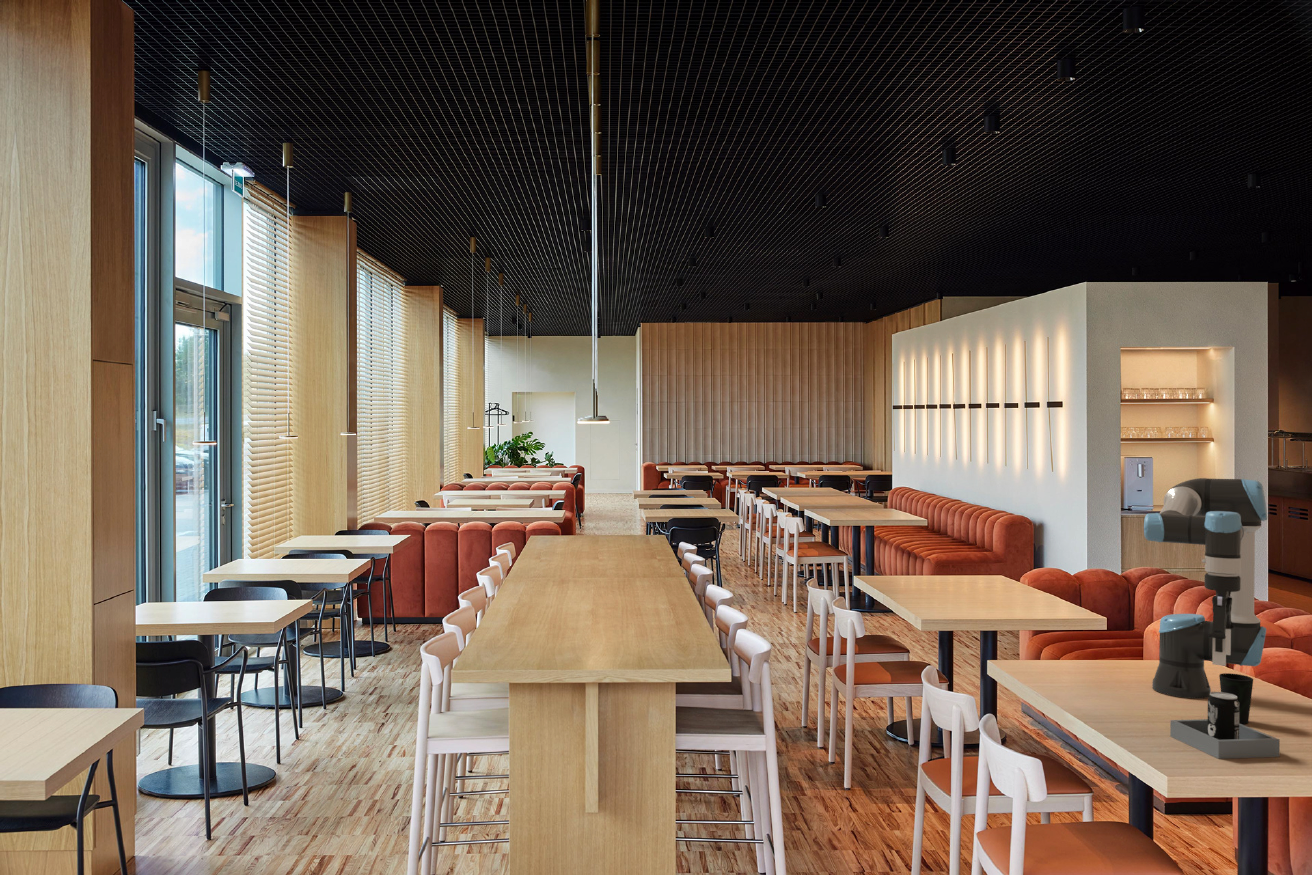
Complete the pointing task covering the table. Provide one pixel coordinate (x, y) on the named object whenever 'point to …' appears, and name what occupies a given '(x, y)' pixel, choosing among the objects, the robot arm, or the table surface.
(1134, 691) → the table surface
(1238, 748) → the tray
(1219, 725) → the beverage can
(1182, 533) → the robot arm
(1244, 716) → the cup
